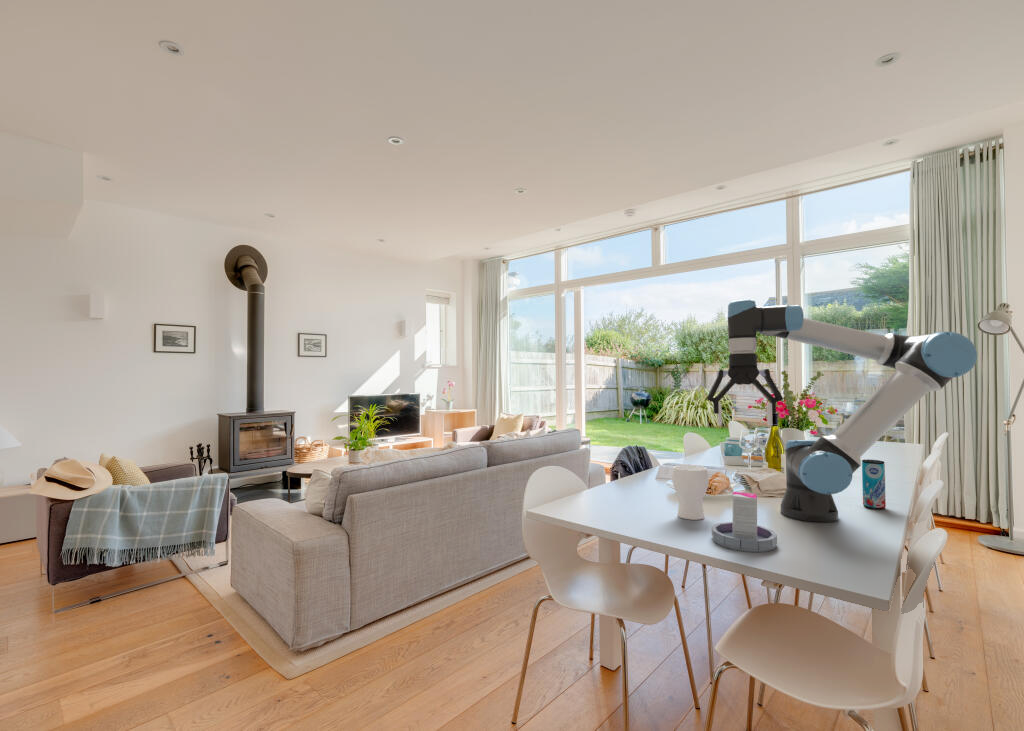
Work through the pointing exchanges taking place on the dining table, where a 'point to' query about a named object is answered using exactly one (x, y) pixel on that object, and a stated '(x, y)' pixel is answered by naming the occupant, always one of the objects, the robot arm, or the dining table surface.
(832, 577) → the dining table surface
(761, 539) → the dish
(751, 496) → the supplement box
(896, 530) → the dining table surface
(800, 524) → the dining table surface
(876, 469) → the beverage can
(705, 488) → the cup
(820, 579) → the dining table surface
